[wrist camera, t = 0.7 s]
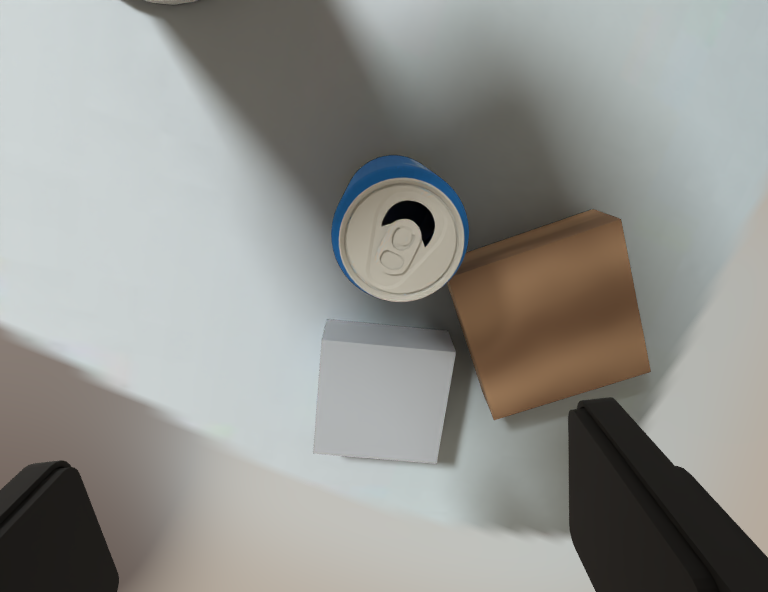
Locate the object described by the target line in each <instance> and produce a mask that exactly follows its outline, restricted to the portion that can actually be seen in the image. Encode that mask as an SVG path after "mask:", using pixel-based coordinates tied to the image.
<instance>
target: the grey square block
mask: <svg viewBox="0 0 768 592" xmlns="http://www.w3.org/2000/svg"><path fill="white" fill-rule="evenodd" d="M455 355H456V351H455V348H454V346H453V343H452V340H451V337H450V334H449V332H448V331H445V330H435V329H424V328H414V327H403V326H393V325H383V324H372V323H362V322H352V321H341V320H331V319H327V321H326V325H325V329H324V333H323V337H322V342H321V355H320V369H319V382H318V395H317V409H316V422H315V435H314V449H313V454H324V455H336V456H348V457H360V458H372V459H385V460H397V461H409V462H421V463H433V464H437V458H438V453H439V447H440V441H441V435H442V430H443V424H444V418H445V412H446V407H447V401H448V395H449V389H450V384H451V378H452V372H453V366H454V361H455Z"/></svg>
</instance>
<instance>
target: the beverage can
mask: <svg viewBox="0 0 768 592" xmlns="http://www.w3.org/2000/svg"><path fill="white" fill-rule="evenodd" d="M331 235H332V246H333V251H334V254H335V257H336V260H337V262H338V264H339V266H340V268H341V269H342V271H343V273H344V274H345V275H346V276H347V278H348V279H349V280H350V281H351V282H352V283H353V284H354V285H355V286H356V287H358V288H359V289H361V290H362V291H363V292H365V293H367V294H369V295H371V296H374V297H376V298H379V299H383V300H387V301H393V302H408V301H414V300H418V299H421V298H424V297H426V296H428V295H430V294H432V293H434V292H436V291H437V290H438V289H440V288H441V287H443V286H444V285H445V284H446V283H447V282H448V281H449V280H450V279H451V278H452V277H453V276H454V274H455V273H456V272H457V270H458V269H459V267H460V265H461V263H462V261H463V259H464V256H465V253H466V250H467V246H468V240H469V226H468V219H467V215H466V212H465V209H464V206H463V204H462V202H461V200H460V198H459V197H458V195H457V194H456V193H455V191H454V190H453V189H452V188H451V187H450V186H449V185H448V183H446V182H445V181H444V180H443V179H441V178H440V177H439V176H437V175H436V174H434V173H433V172H432V171H430V170H429V169H428V168H426V167H425V166H423V165H422V164H421V163H419V162H417V161H416V160H413V159H411V158H408V157H404V156H398V155H389V156H382V157H379V158H376V159H374V160H371V161H370V162H368V163H366V164H365V165H364V166H362V167H361V168H360V169H359V170H358V171H357V172H356V173H355V175H354V176H353V178H352V179H351V181H350V183H349V185H348V187H347V189H346V191H345V193H344V194H343V196H342V198H341V200H340V202H339V204H338V206H337V209H336V212H335V214H334V218H333V222H332V231H331Z"/></svg>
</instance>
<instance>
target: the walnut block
mask: <svg viewBox="0 0 768 592" xmlns="http://www.w3.org/2000/svg"><path fill="white" fill-rule="evenodd" d="M447 285H448V288H449V291H450V294H451V297H452V300H453V304H454V307H455V310H456V313H457V316H458V319H459V322H460V325H461V328H462V331H463V334H464V337H465V340H466V343H467V346H468V349H469V352H470V355H471V358H472V361H473V364H474V368H475V371H476V374H477V377H478V380H479V383H480V386H481V389H482V392H483V394H484V397H485V399H486V402H487V404H488V406H489V409H490V411H491V414H492V416H493V419H494V420H496V419H500V418H503V417H506V416H509V415H513V414H516V413H519V412H522V411H526V410H529V409H532V408H535V407H538V406H542V405H545V404H548V403H551V402H555V401H558V400H561V399H564V398H568V397H571V396H574V395H577V394H581V393H584V392H587V391H590V390H594V389H597V388H600V387H603V386H606V385H610V384H613V383H616V382H619V381H623V380H626V379H629V378H632V377H636V376H639V375H642V374H645V373H649V372H651V370H650V365H649V360H648V355H647V350H646V345H645V340H644V335H643V329H642V324H641V319H640V314H639V309H638V304H637V299H636V294H635V289H634V284H633V278H632V273H631V268H630V263H629V258H628V253H627V248H626V243H625V238H624V232H623V227H622V222H621V219H619V218H617V217H614V216H611V215H608V214H605V213H603V212H600V211H597V210H594V209H592V210H589V211H586V212H583V213H580V214H577V215H574V216H571V217H568V218H565V219H563V220H560V221H557V222H554V223H551V224H548V225H545V226H542V227H539V228H536V229H534V230H531V231H528V232H525V233H522V234H519V235H516V236H513V237H510V238H507V239H505V240H502V241H499V242H496V243H493V244H490V245H487V246H484V247H481V248H478V249H475V250H473V251H470V252H467V253H465V256H464V259H463V261H462V263H461V265H460V267H459V269H458V270H457V272H456V273H455V274H454V276H453V277H452V278H451V279H450V280H449V281H448V282H447Z"/></svg>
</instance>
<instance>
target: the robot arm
mask: <svg viewBox="0 0 768 592" xmlns="http://www.w3.org/2000/svg"><path fill="white" fill-rule="evenodd" d="M145 1H148V2H151V3H160V4H172V5H174V4H182V3H189V2H194V1H197V0H145ZM568 432H569V526H570V533H571V538H572V541H573V544H574V547H575V549H576V551H577V553H578V555H579V557H580V560H581V561H582V563H583V566H584V568H585V570H586V572H587V574H588V576H589V578H590V580H591V583H592V585H593V587H594V589H595V591H596V592H768V557H767V556H766V555H765V554H764V553H763V552H762V551H761V550H760V549H759V548H758V547H757V545H756V544H755V543H754V542H753V541H752V540H751V539H750V538H749V537H748V536H747V535H746V534H745V533H744V532H743V530H742V529H741V528H740V527H739V526H738V525H737V524H736V523H735V522H734V521H733V520H732V519H731V517H730V516H729V515H728V514H727V513H726V512H725V511H724V510H723V509H722V508H721V507H720V505H719V504H718V503H717V502H716V501H715V500H714V499H713V498H712V497H711V496H710V495H709V494H708V492H707V491H706V490H705V489H704V488H703V487H702V486H701V485H700V484H699V483H698V482H697V481H696V479H695V478H694V477H693V476H692V475H691V474H690V473H688V472H687V471H686V470H685V469H684V468H681V467H678V466H674V465H673V463H672V462H670V460H669V459H668V458H667V457H666V456H665V455H664V453H663V452H662V451H661V450H660V449H659V448H658V447H657V446H656V445H655V443H654V442H653V441H652V440H651V439H650V438H649V437H648V436H647V435H646V433H645V432H644V431H643V430H642V429H641V428H640V427H639V426H638V425H637V423H636V422H635V421H634V420H633V419H632V418H631V417H630V416H629V415H628V413H627V412H626V411H625V410H624V409H623V408H622V407H621V406H620V405H619V403H618V402H617V401H616V400H615V399H613V398H610V397H609V398H600V399H592V400H583V401H580V402H579V403H578V406H577V409H575V410H570V411H569V416H568ZM118 584H119V576H118V572H117V570H116V567H115V564H114V562H113V559H112V557H111V554H110V552H109V549H108V547H107V544H106V541H105V538H104V536H103V533H102V531H101V528H100V525H99V523H98V521H97V518H96V515H95V513H94V510H93V507H92V505H91V502H90V499H89V497H88V495H87V492H86V489H85V487H84V484H83V481H82V479H81V476H80V474H79V472H78V470H77V469H75V468H73V467H71V466H70V464H68V463H67V462H66V461H53V462H45V463H35V464H31V465H28V466H27V467H25V468H24V469H23V470H22V471H20V472H19V473H18V474H17V475H16V476H15V477H14V478H13V479H12V480H11V481H10V482H9V483H8V484H6V485H5V486H4V487H3V488H2V489H1V490H0V592H117V589H118Z"/></svg>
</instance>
